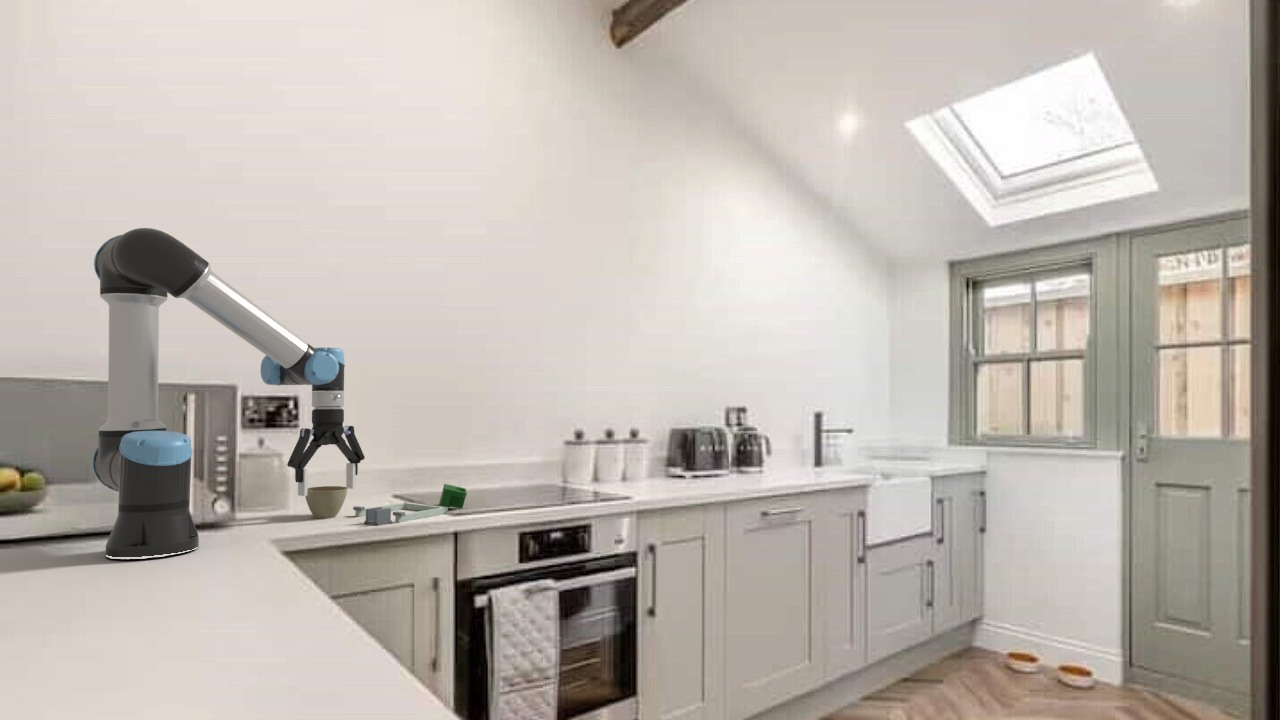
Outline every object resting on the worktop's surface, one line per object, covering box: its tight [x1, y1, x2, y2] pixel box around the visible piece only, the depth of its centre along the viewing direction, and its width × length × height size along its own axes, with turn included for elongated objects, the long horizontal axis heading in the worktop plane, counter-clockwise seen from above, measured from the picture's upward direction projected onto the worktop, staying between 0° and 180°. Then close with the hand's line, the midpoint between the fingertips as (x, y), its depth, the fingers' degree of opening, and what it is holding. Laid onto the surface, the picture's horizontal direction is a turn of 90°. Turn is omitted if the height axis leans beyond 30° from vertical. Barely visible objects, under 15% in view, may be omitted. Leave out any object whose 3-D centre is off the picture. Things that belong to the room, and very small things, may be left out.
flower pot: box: [304, 485, 348, 519], centre depth 181 cm, size 10×10×7 cm
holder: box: [352, 501, 449, 523], centre depth 184 cm, size 16×18×2 cm
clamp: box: [438, 483, 468, 509], centre depth 196 cm, size 12×6×9 cm, turn 10°
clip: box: [363, 506, 393, 526], centre depth 172 cm, size 4×5×4 cm
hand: (327, 492), depth 181 cm, fingers open, 13 cm apart
